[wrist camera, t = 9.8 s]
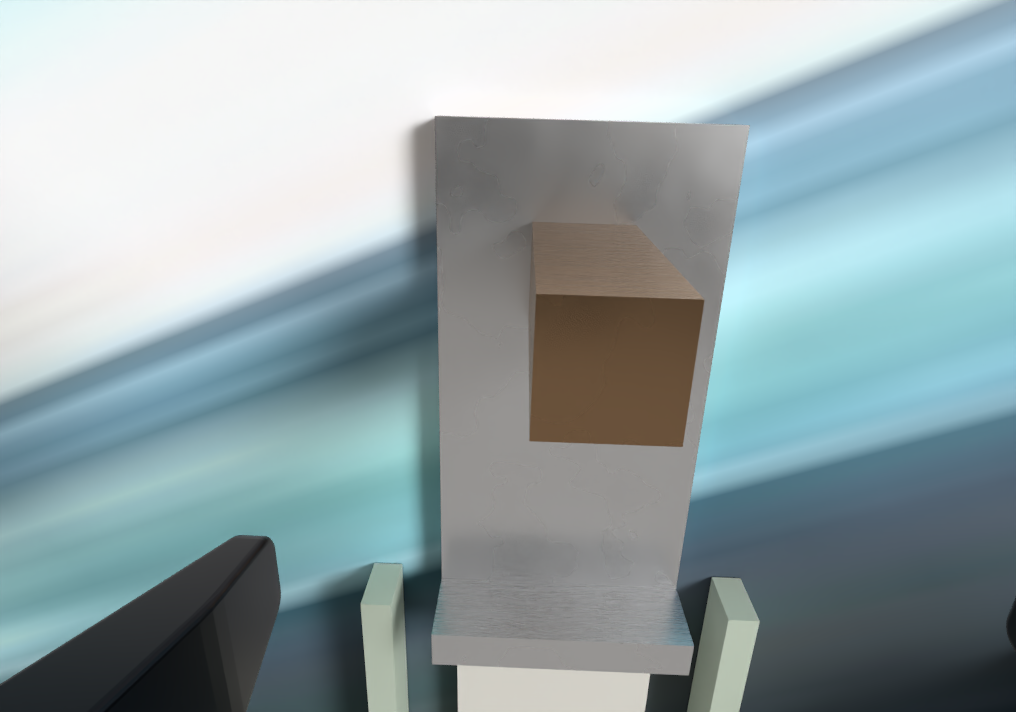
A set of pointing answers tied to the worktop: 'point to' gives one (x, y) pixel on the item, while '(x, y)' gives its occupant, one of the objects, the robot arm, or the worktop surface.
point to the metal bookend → (574, 382)
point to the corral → (715, 669)
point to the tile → (549, 690)
